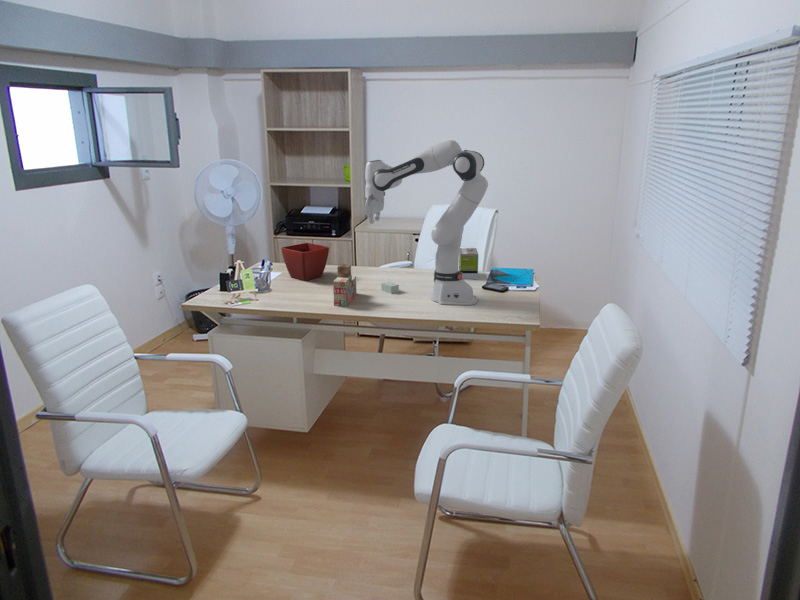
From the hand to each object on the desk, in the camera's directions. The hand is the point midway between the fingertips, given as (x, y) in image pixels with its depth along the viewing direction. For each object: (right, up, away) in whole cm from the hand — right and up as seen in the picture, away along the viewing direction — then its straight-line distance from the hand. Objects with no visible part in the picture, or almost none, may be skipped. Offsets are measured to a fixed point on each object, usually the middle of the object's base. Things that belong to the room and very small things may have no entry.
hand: (374, 221), depth 293 cm
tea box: (+51, -26, +37) cm, 68 cm away
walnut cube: (-14, -27, -10) cm, 32 cm away
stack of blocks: (-14, -39, -5) cm, 42 cm away
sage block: (+8, -34, +9) cm, 36 cm away
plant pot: (-39, -26, +34) cm, 58 cm away
